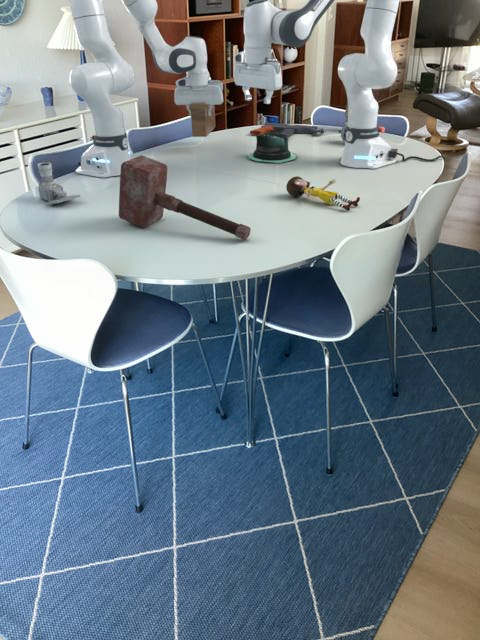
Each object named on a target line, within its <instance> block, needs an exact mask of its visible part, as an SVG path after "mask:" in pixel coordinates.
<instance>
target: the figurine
mask: <svg viewBox="0 0 480 640" xmlns="http://www.w3.org/2000/svg"><path fill="white" fill-rule="evenodd" d="M336 182H337V180H336V179H335V178H333V179H330V180H329V182H328V183H327V184H326V185H324V186H323V187H321V188H318V187H315V186H313V185H312V186H310V185H311V182H310V181H308V180H304V179H303V178H302V177H300V176H292V177H291V178H290V179H289V180H288V181H287V183H286V186H285V187H286V192H287V193H288V195H290V196H291V197H302V196H303V195H305V196H306V197H307V198H308V199H309V198H310V197H316V198H319V199H320V200H322V201H323V202H324V203H326V204H328V205H333V204H334V205H335V206H337V207H340V208H342V209H344V210H346V211H350V210H351V206H354V207H358V206H359V204H358V203H359V202H360V201H361V197H359V196H358V197H356V200H351V199H349V198H347V197H345V196H343V195H342V194H339V192H336V191H330V190H326V189H327V188H328V187H329V186H332V185H334V183H336ZM339 200H340V201H342V202H343V203H346V204H343V203H342V202H340V201H339Z"/></svg>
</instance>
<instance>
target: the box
mask: <svg viewBox="0 0 480 640" xmlns="http://www.w3.org/2000/svg"><path fill="white" fill-rule="evenodd" d="M189 108H190V109H191V116H190V121H191V134H192V138H198V137H199V138H206V137H208V136H209V135H210V134H211V133H212V131H213V130H214V129H215V128H216V112H215V111H216V108H215V105H213V108H212V110H211V116H207V111H209V109H210V107H209V105H206V103H191V104H190V107H189Z"/></svg>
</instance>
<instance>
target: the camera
mask: <svg viewBox="0 0 480 640" xmlns="http://www.w3.org/2000/svg"><path fill="white" fill-rule="evenodd" d="M37 169H38V172H39V174H40V179H41V182H39V183H38V186H37V187H38V194H39V198H40V199H42V200H45V201H47V205H53V204H60V203H63V202H67V201H70V200H75V199H78V198H81V197H82V196H81V195H80V194H73V195H68V194H67V192H66V190H64V186H62V185H61V184H59V183H55V181H54V177H53V166H52V163H51V162H50V161H43V162H39V163H37ZM67 195H68V196H67Z"/></svg>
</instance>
